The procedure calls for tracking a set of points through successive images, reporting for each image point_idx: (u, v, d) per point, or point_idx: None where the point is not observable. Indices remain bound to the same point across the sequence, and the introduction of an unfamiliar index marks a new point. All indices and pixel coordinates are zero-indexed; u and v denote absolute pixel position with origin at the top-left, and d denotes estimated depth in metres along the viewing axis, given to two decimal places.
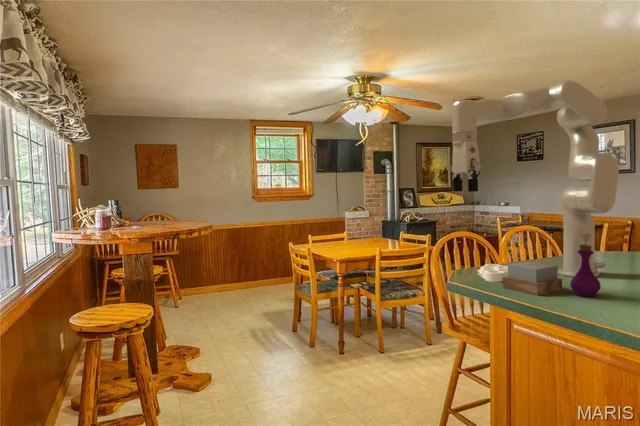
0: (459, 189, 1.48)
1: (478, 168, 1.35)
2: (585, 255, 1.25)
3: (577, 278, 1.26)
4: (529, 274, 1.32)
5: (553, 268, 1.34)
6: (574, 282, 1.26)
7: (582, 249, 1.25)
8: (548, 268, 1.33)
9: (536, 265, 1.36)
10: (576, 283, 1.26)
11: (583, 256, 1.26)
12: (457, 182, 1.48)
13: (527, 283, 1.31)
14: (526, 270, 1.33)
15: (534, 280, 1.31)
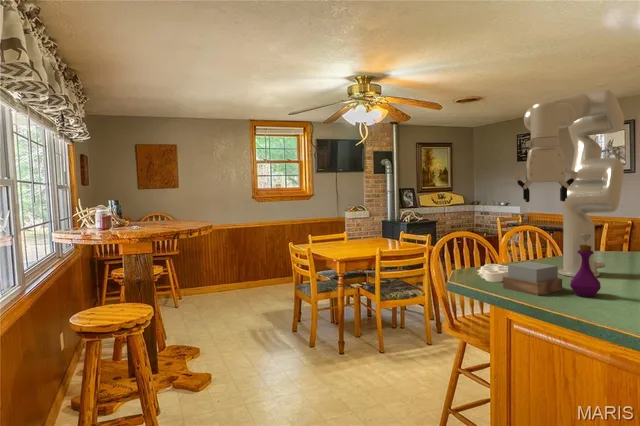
0: (561, 199, 1.30)
1: (514, 178, 1.34)
2: (585, 255, 1.25)
3: (577, 278, 1.26)
4: (529, 274, 1.32)
5: (553, 268, 1.33)
6: (574, 282, 1.26)
7: (582, 249, 1.25)
8: (548, 268, 1.32)
9: (536, 265, 1.36)
10: (576, 283, 1.26)
11: (583, 256, 1.26)
12: (561, 191, 1.31)
13: (527, 283, 1.31)
14: (526, 270, 1.33)
15: (534, 280, 1.30)
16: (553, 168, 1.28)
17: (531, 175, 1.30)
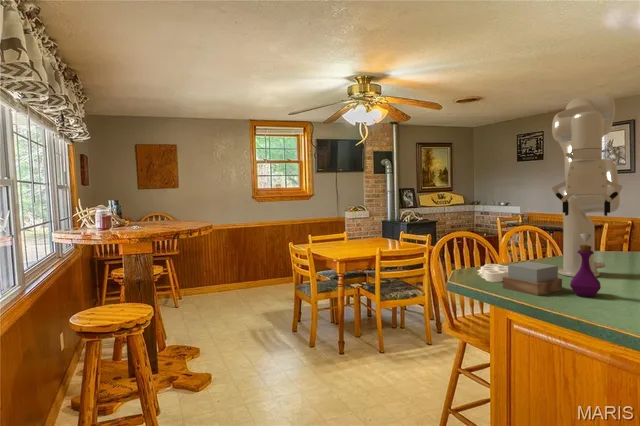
0: (604, 213, 1.23)
1: None
2: (585, 255, 1.25)
3: (577, 278, 1.26)
4: (529, 274, 1.32)
5: (554, 268, 1.34)
6: (574, 282, 1.26)
7: (582, 249, 1.25)
8: (548, 268, 1.32)
9: (536, 265, 1.36)
10: (576, 283, 1.26)
11: (583, 256, 1.26)
12: None
13: (527, 283, 1.31)
14: (526, 270, 1.33)
15: (535, 280, 1.30)
16: (593, 181, 1.22)
17: (569, 188, 1.26)
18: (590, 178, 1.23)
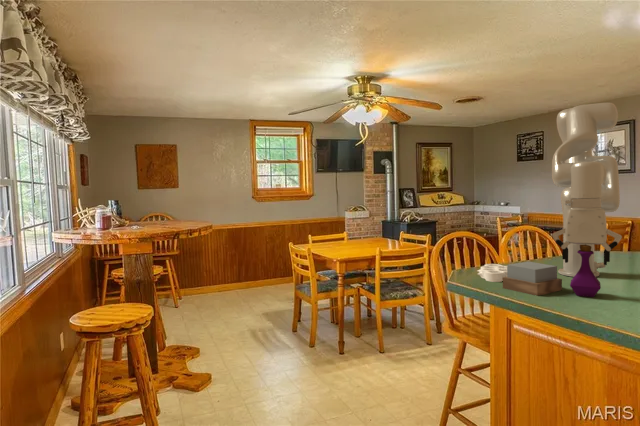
0: None
1: (553, 237, 1.31)
2: (585, 255, 1.25)
3: (577, 278, 1.26)
4: (528, 274, 1.32)
5: (553, 268, 1.34)
6: (574, 282, 1.26)
7: (582, 249, 1.25)
8: (547, 268, 1.32)
9: (536, 265, 1.36)
10: (576, 283, 1.26)
11: (583, 256, 1.26)
12: None
13: (527, 283, 1.31)
14: (525, 271, 1.33)
15: (533, 280, 1.31)
16: (592, 230, 1.23)
17: (569, 236, 1.27)
18: (590, 227, 1.24)
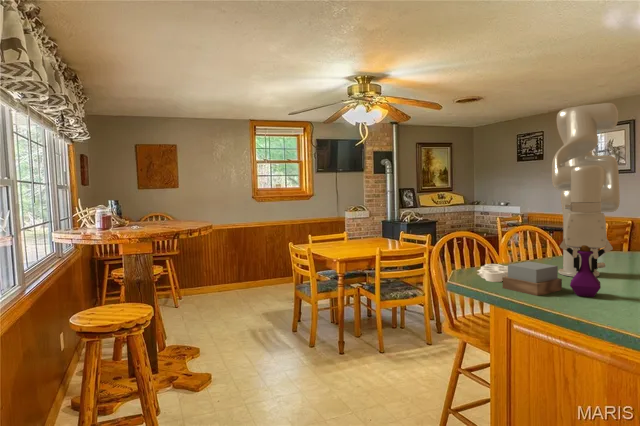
0: (591, 269, 1.26)
1: (563, 248, 1.30)
2: (585, 255, 1.25)
3: (577, 278, 1.26)
4: (529, 274, 1.32)
5: (553, 268, 1.33)
6: (574, 282, 1.26)
7: (582, 249, 1.25)
8: (548, 268, 1.32)
9: (536, 265, 1.36)
10: (576, 283, 1.26)
11: (583, 256, 1.26)
12: None
13: (527, 283, 1.31)
14: (526, 271, 1.33)
15: (534, 280, 1.30)
16: (592, 234, 1.24)
17: (568, 240, 1.27)
18: (589, 231, 1.24)
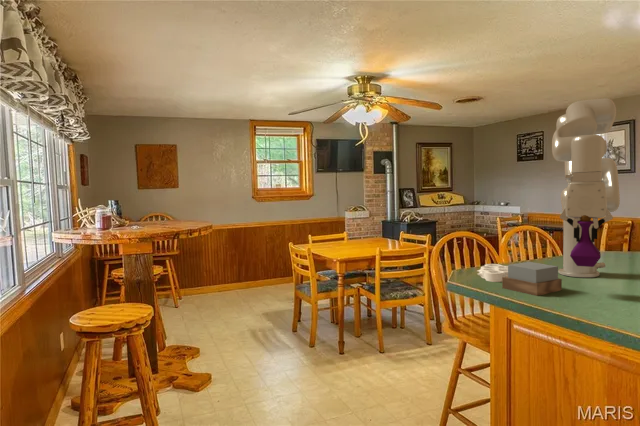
0: (591, 239, 1.26)
1: (563, 219, 1.30)
2: (585, 225, 1.25)
3: (577, 249, 1.27)
4: (529, 274, 1.31)
5: (554, 268, 1.33)
6: (574, 252, 1.27)
7: (582, 219, 1.25)
8: (548, 269, 1.32)
9: (536, 265, 1.35)
10: (576, 253, 1.26)
11: (583, 226, 1.26)
12: None
13: (527, 283, 1.31)
14: (526, 271, 1.32)
15: (534, 281, 1.30)
16: (592, 204, 1.23)
17: (569, 210, 1.27)
18: (590, 201, 1.24)
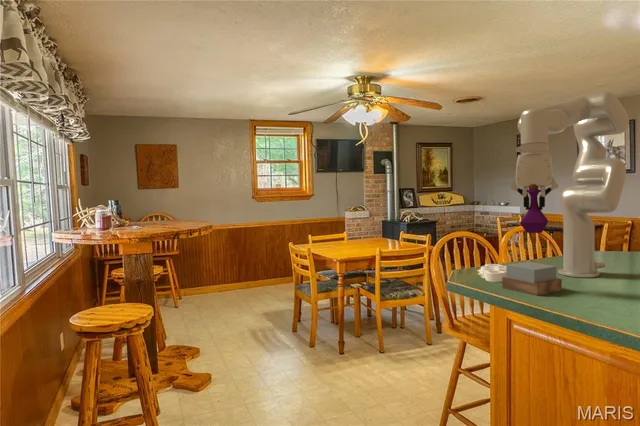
0: None
1: (514, 189, 1.38)
2: (533, 193, 1.33)
3: (526, 216, 1.34)
4: (527, 274, 1.32)
5: (552, 268, 1.33)
6: (523, 219, 1.34)
7: (530, 188, 1.33)
8: (547, 269, 1.32)
9: (535, 265, 1.36)
10: (525, 220, 1.34)
11: (531, 194, 1.33)
12: None
13: (527, 283, 1.31)
14: (524, 271, 1.33)
15: (532, 281, 1.30)
16: (539, 173, 1.32)
17: (518, 180, 1.35)
18: (537, 171, 1.32)
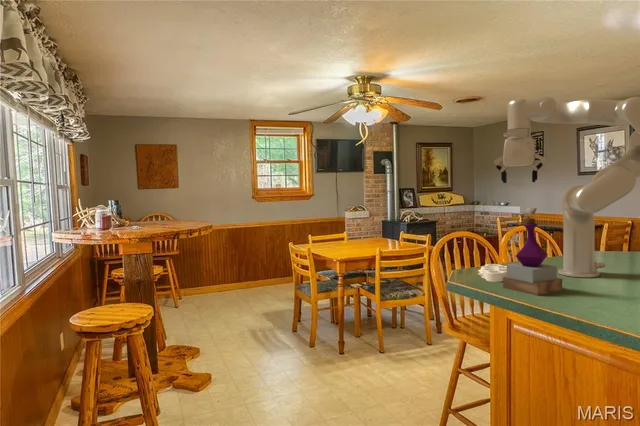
0: None
1: (494, 163, 1.62)
2: (529, 227, 1.34)
3: (522, 249, 1.35)
4: (526, 274, 1.32)
5: (552, 268, 1.33)
6: (519, 253, 1.35)
7: (526, 222, 1.34)
8: (546, 269, 1.32)
9: None
10: (521, 253, 1.35)
11: (527, 228, 1.34)
12: None
13: (527, 283, 1.32)
14: (523, 270, 1.33)
15: (531, 280, 1.31)
16: (523, 154, 1.54)
17: (505, 160, 1.57)
18: (521, 152, 1.54)
